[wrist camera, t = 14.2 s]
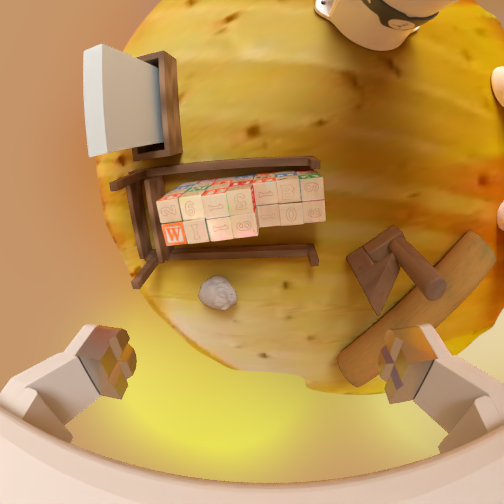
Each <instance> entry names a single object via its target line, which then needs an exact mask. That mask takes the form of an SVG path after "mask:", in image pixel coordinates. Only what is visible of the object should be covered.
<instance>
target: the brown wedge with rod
mask: <svg viewBox="0 0 504 504" xmlns="http://www.w3.org/2000/svg"><path fill="white" fill-rule="evenodd" d="M346 259H347V261H348V263H349V264H350V266H351V268H352V270H353V272H354V274H355V276H356V277H357V279H358V281H359V283H360V285H361V287H362V289H363V291H364V293H365V295H366V297H367V298H368V300H369V302H370V304H371V306H372V307H373V309H374V311H375V312H376V314H377V316H379V314H380V312H381V310H382V308H383V306H384V304H385V302H386V300H387V298H388V296H389V293H390V291H391V289H392V287H393V284H394V282H395V280H396V278H397V275H398V273H399V270H400V267H399V265H400V266H401V267H402V268H403V270H404V271H405V272H406V273H407V274H408V276H409V277H410V278H411V279H412V281H413V282H414V283H415V284H416V286H417V287H418V288H419V290H420V291H421V292H422V293H423V295H424V296H425V297H426V299H428V300H430V301H434V300H437V299H439V298H440V297H441V296H442V295H443V294H444V292H445V290H446V286H447V285H446V280H445V279H444V278H443V277H442V275H441V274H440V273H439V272H438V271H437V270H436V269H435V268H434V267H433V266H432V265H431V264H430V263H429V262H428V261H427V260H426V259H425V258H424V257H423V256H422V255H421V254H420V253H419V252H418V251H417V250H416V249H415V248H414V247H413V246H412V245H410V244H409V243H408V242H407V241H406V240H405V237H404V235H403V233H402V232H401V231H400V230H399V229H398V228H397V227H396V226H395V225H393V226H391V227H390V228H389V229H387V230H386V231H384V232H383V233H381V234H380V235H378V236H377V237H375V238H374V239H372V240H371V241H369V242H368V243H366V244H365V245H363V248H362V247H360V248H359V249H357V250H356V251H354V252H353V253H351V254H350V255H348V256H347V257H346ZM373 262H377V263H376V264H374V263H373ZM398 263H399V265H398Z"/></svg>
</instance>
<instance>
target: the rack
mask: <svg viewBox="0 0 504 504" xmlns="http://www.w3.org/2000/svg"><path fill="white" fill-rule="evenodd" d="M271 166H309V167H310V168H311V169H320V160H319V159H317V158H315V157H314V156H294V157H262V158H243V159H229V160H216V161H205V162H195V163H186V164H177V165H169V166H161V167H154V168H147V169H140V170H134V171H132V172H129V175H127V176H125V177H122V178H120V179H117V180H115V181H113V182H110V183H109V184H110V190H111V191H118V190H120V189H122V188H124V187H126V190H127V197H128V202H129V208H130V213H131V219H132V224H133V229H134V234H135V239H136V243H137V248H138V252H139V256H140V259H145V261H148V262H147V263H146V264H145V265H144V267H143V268H142V269H141V270H140V271H139V273H138V274H137V275H136V276H135V278H134V279H133V280H132V282H131V283H132V287H133V289H140V288H141V287H142V285H143V284H144V283H145V281H146V280H147V279H148V277H149V276H150V274H151V273H152V272H153V270H154V269H155V268H156V266H157V265H158V264H159V263H164V262H165V260H199V259H234V258H266V257H297V256H308V258H309V262H310V265H311V266H318V263H319V258H318V256H317V253H316V250H315V247H314V244H283V245H253V246H225V247H197V248H174V245H172V246H167V245H166V242H165V239H164V235H163V231H162V223H160V218H159V213H158V209H157V204H156V201H157V200H159V199H160V198H162V197H164V195H165V187H164V180H163V175H168V174H177V173H186V172H196V171H207V170H219V169H233V168H249V167H271ZM152 176H153V177H152ZM146 177H151V178H148V179H146V180H144V184H145V191H146V198H147V204H148V210H149V216H150V222H151V227H152V233H153V238H154V243H155V248H156V249H152V246H151V241H150V236H149V231H148V225H147V220H146V214H145V208H144V202H143V196H142V190H141V183H140V180H141V179H144V178H146Z"/></svg>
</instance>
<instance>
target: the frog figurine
mask: <svg viewBox="0 0 504 504" xmlns="http://www.w3.org/2000/svg"><path fill="white" fill-rule="evenodd" d="M200 289H201V290H200V291H199V294H198V297H199V299H200V300H201V301H202V303H204V304H205V305H207V306H209V307H211V308H213V309H216V310H222V311H225V310H227V309H228V308H230V307H232V306H233V305H235V304H236V302H237V293H236V291H235V290H234V288H233V287H232V286H231V284H230V282H229V281H228V280H227V279H226V278H224V277H222V276H213V277H211V278H209V279H207V280H206V281H204V282H203V283H202V285H201V288H200Z"/></svg>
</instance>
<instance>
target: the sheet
mask: <svg viewBox="0 0 504 504" xmlns="http://www.w3.org/2000/svg"><path fill="white" fill-rule="evenodd" d="M83 63H84V64H83V83H84V107H85V108H84V109H85V123H86V135H87V144H88V152H89V157H92V156H97V155H101V154H105V153H110V152H114V151H119V150H124V149H129V148H134V147H139V146H145V145H150V144H156V143H162V142H164V137H163V126H162V114H161V100H160V82H159V68H157V67H155V66H153V65H151V64H149V63H146V62H144V61H142V60H140V59H138V58H136V57H133V56H131V55H129V54H127V53H124V52H122V51H120V50H117V49H115V48H112V47H110V46H107V45H105V44H100V45H97V46H95V47H92V48H90V49H88V50H85V51H84V62H83Z"/></svg>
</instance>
